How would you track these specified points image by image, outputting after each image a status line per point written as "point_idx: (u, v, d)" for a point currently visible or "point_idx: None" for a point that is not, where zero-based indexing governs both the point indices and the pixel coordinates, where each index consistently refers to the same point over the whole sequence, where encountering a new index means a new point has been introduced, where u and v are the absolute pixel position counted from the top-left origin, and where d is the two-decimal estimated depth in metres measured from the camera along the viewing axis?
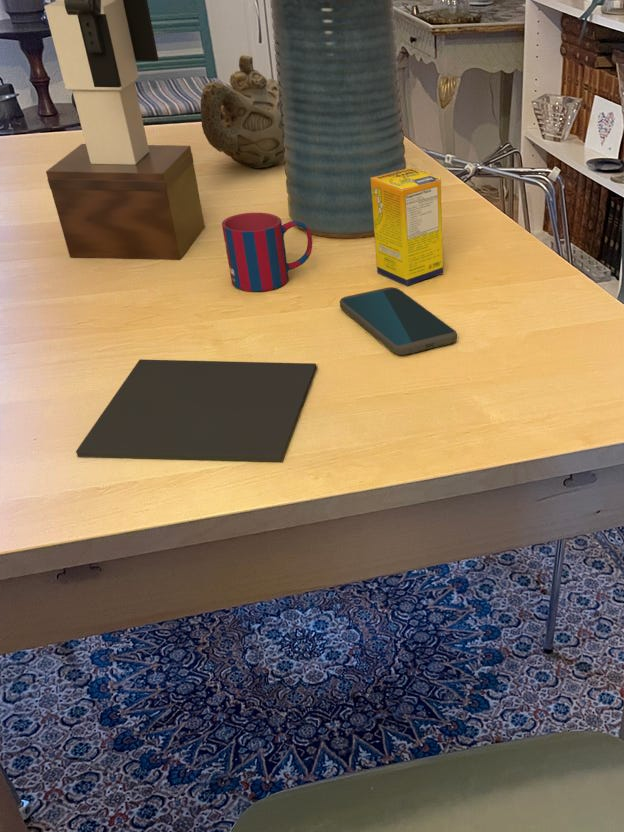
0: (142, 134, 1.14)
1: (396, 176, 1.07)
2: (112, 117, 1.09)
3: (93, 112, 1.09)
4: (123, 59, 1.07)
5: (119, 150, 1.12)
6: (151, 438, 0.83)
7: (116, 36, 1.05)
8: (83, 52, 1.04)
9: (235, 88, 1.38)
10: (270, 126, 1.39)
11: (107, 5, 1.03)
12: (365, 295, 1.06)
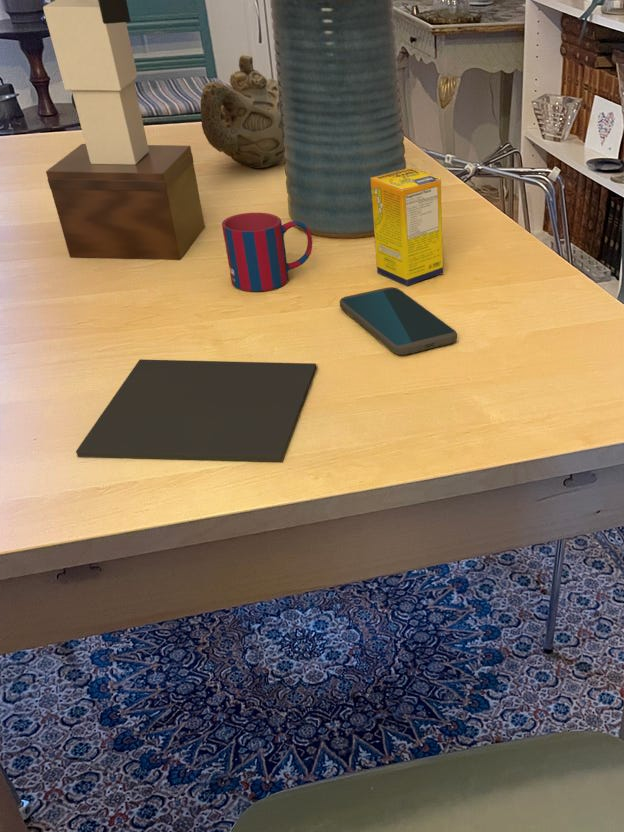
0: (141, 134, 1.14)
1: (396, 176, 1.07)
2: (111, 117, 1.09)
3: (92, 112, 1.09)
4: (122, 59, 1.07)
5: (119, 150, 1.12)
6: (151, 438, 0.83)
7: (115, 36, 1.05)
8: (82, 53, 1.04)
9: (235, 88, 1.38)
10: (270, 126, 1.39)
11: None
12: (365, 295, 1.06)
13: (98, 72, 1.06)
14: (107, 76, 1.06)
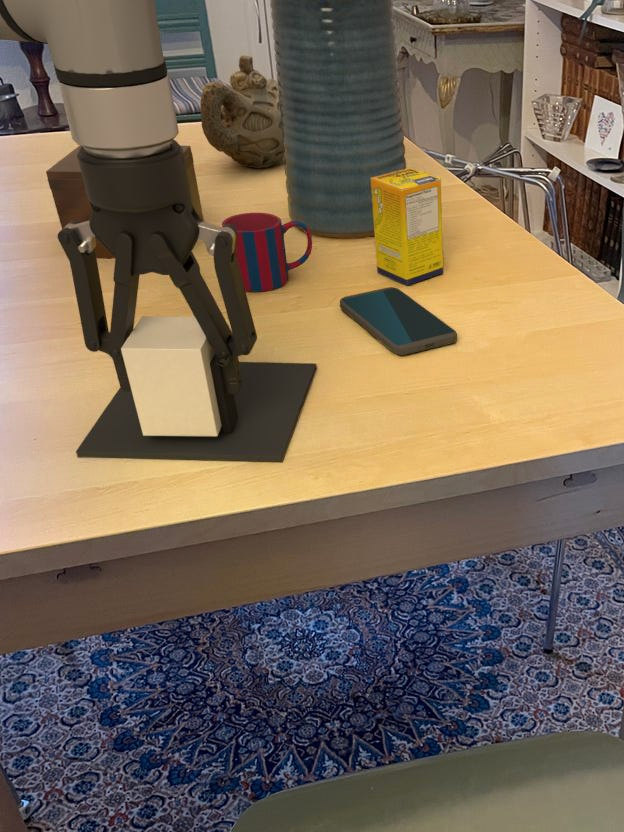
0: None
1: (396, 176, 1.07)
2: None
3: None
4: None
5: None
6: (151, 438, 0.83)
7: None
8: (170, 397, 0.79)
9: (235, 88, 1.38)
10: (270, 126, 1.39)
11: (204, 342, 0.77)
12: (365, 295, 1.06)
13: (190, 417, 0.80)
14: (200, 421, 0.80)
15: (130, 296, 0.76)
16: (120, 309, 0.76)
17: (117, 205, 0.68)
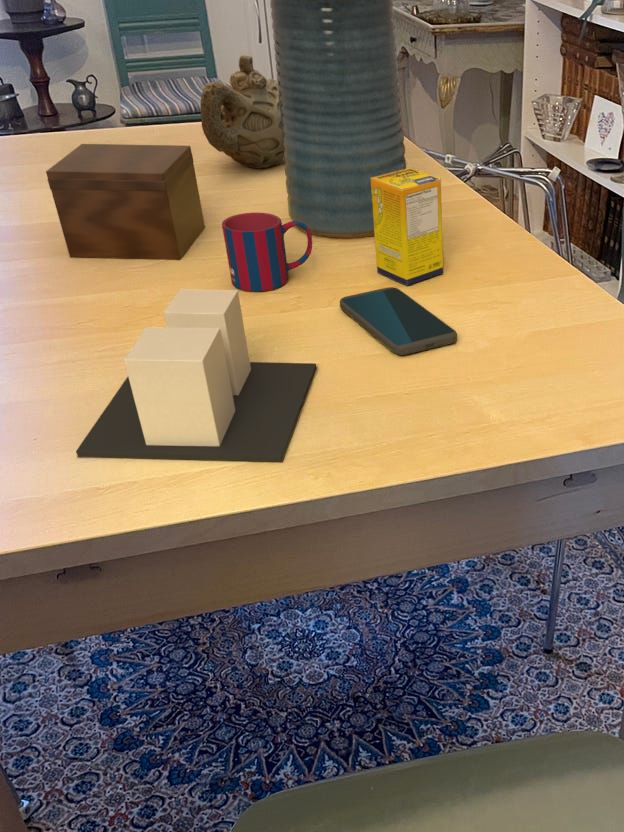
0: (244, 353, 0.91)
1: (396, 176, 1.07)
2: None
3: None
4: (221, 405, 0.82)
5: None
6: None
7: (214, 383, 0.80)
8: (173, 408, 0.80)
9: (235, 88, 1.38)
10: (270, 126, 1.39)
11: (206, 353, 0.78)
12: (365, 295, 1.06)
13: (192, 428, 0.81)
14: (203, 431, 0.81)
15: None
16: None
17: None
